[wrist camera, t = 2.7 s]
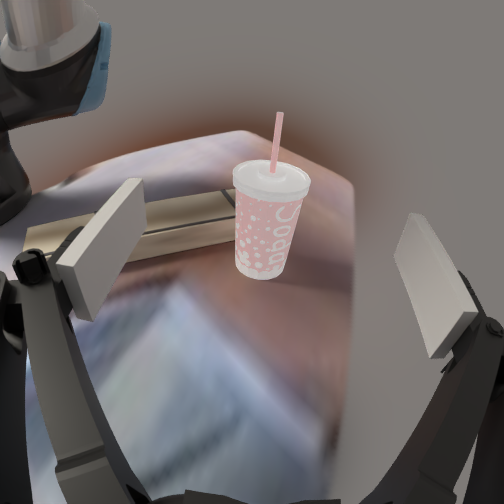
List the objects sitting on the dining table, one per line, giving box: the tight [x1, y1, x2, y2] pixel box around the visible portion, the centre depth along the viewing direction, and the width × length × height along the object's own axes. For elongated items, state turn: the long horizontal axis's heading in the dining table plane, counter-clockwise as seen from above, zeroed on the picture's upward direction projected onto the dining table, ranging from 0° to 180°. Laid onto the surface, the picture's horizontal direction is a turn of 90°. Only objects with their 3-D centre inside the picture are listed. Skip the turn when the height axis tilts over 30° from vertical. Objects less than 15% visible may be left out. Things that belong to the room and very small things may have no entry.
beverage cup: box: [233, 112, 311, 280], centre depth 25 cm, size 6×6×14 cm
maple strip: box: [22, 189, 236, 263], centre depth 30 cm, size 6×26×3 cm, turn 115°
